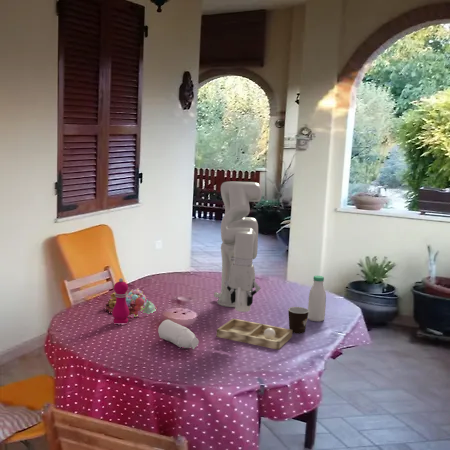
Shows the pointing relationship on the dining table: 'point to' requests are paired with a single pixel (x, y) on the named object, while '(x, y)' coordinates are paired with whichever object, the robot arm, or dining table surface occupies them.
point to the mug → (241, 300)
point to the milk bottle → (317, 300)
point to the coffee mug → (298, 319)
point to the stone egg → (269, 333)
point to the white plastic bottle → (177, 334)
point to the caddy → (253, 333)
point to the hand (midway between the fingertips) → (241, 303)
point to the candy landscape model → (133, 303)
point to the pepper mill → (120, 302)
